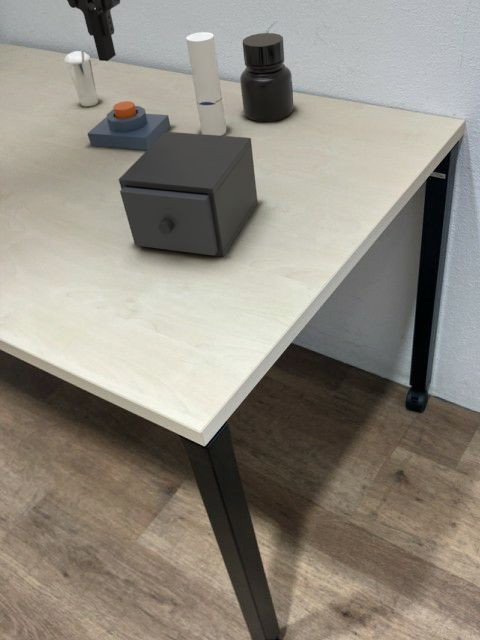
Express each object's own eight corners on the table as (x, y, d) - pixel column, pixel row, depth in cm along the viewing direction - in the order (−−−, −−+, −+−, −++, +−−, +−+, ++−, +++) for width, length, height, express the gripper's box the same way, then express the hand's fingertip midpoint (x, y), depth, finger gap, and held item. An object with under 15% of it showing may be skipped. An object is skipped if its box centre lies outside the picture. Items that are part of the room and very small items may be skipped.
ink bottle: (303, 106, 110) (300, 33, 101) (281, 126, 105) (276, 51, 96) (257, 99, 113) (250, 28, 105) (233, 118, 108) (223, 45, 100)
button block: (90, 145, 104) (84, 122, 102) (115, 123, 110) (110, 101, 107) (148, 150, 102) (142, 126, 99) (170, 127, 107) (166, 104, 105)
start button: (111, 119, 103) (109, 109, 101) (121, 110, 105) (119, 100, 104) (130, 120, 102) (128, 110, 100) (140, 112, 104) (138, 101, 103)
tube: (218, 124, 107) (204, 30, 96) (231, 131, 104) (218, 36, 94) (197, 131, 105) (181, 37, 95) (210, 139, 103) (195, 43, 92)
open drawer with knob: (211, 261, 76) (201, 205, 71) (130, 250, 79) (114, 196, 74) (247, 205, 85) (241, 151, 80) (174, 197, 88) (163, 145, 83)
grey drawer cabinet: (223, 256, 78) (212, 188, 71) (136, 245, 82) (118, 179, 75) (257, 202, 87) (251, 137, 80) (178, 194, 90) (164, 131, 84)
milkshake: (87, 111, 115) (71, 54, 108) (73, 104, 118) (56, 48, 111) (108, 103, 117) (93, 47, 110) (94, 96, 120) (78, 41, 113)
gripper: (119, -141, 81) (154, 51, 97) (35, -138, 84) (83, 48, 101) (91, -133, 76) (133, 68, 92) (3, -130, 79) (59, 64, 96)
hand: (107, 57), depth 96 cm, fingers closed
